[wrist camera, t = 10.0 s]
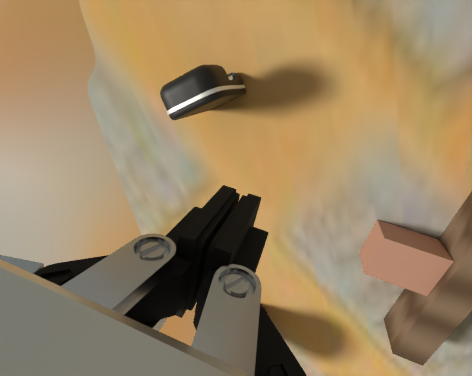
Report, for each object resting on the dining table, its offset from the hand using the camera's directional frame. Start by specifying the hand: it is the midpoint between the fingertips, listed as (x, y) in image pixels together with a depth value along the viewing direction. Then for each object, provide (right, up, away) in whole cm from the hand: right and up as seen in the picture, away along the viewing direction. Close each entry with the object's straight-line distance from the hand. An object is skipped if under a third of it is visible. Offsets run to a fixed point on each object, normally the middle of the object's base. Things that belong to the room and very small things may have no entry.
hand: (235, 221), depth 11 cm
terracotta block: (+23, -7, +26) cm, 36 cm away
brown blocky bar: (+29, -8, +25) cm, 39 cm away
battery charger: (-2, +15, +25) cm, 30 cm away
